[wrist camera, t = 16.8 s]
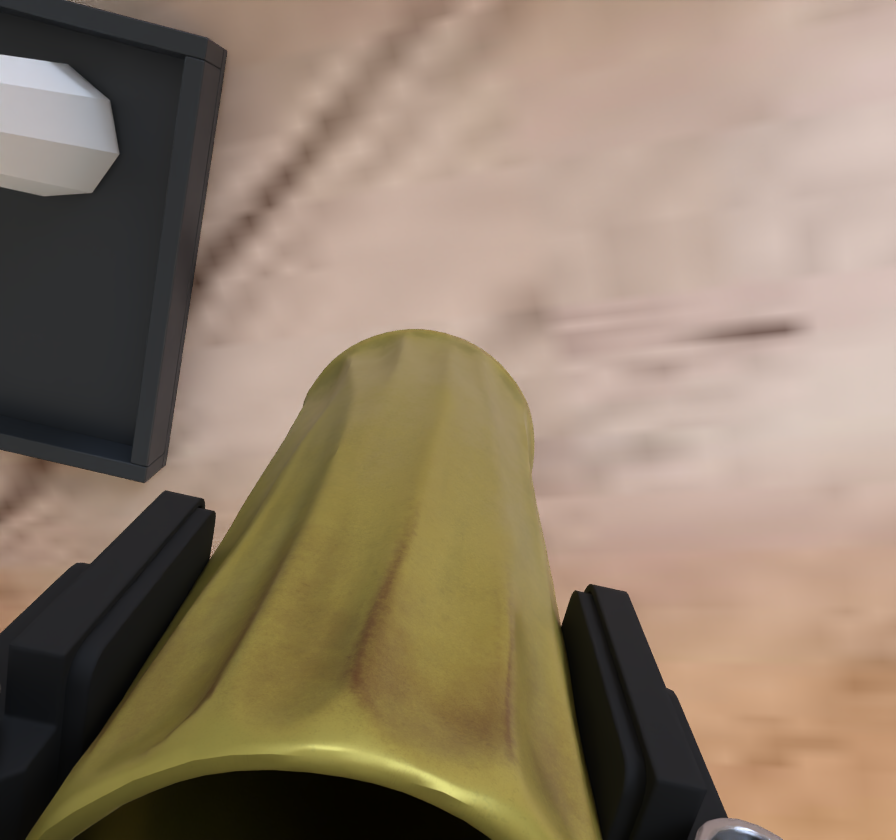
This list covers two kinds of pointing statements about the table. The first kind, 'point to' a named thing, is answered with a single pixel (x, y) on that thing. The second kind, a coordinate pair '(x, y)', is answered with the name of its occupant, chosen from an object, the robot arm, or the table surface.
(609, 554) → the table surface
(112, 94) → the tray
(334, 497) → the vase
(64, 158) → the salt shaker
